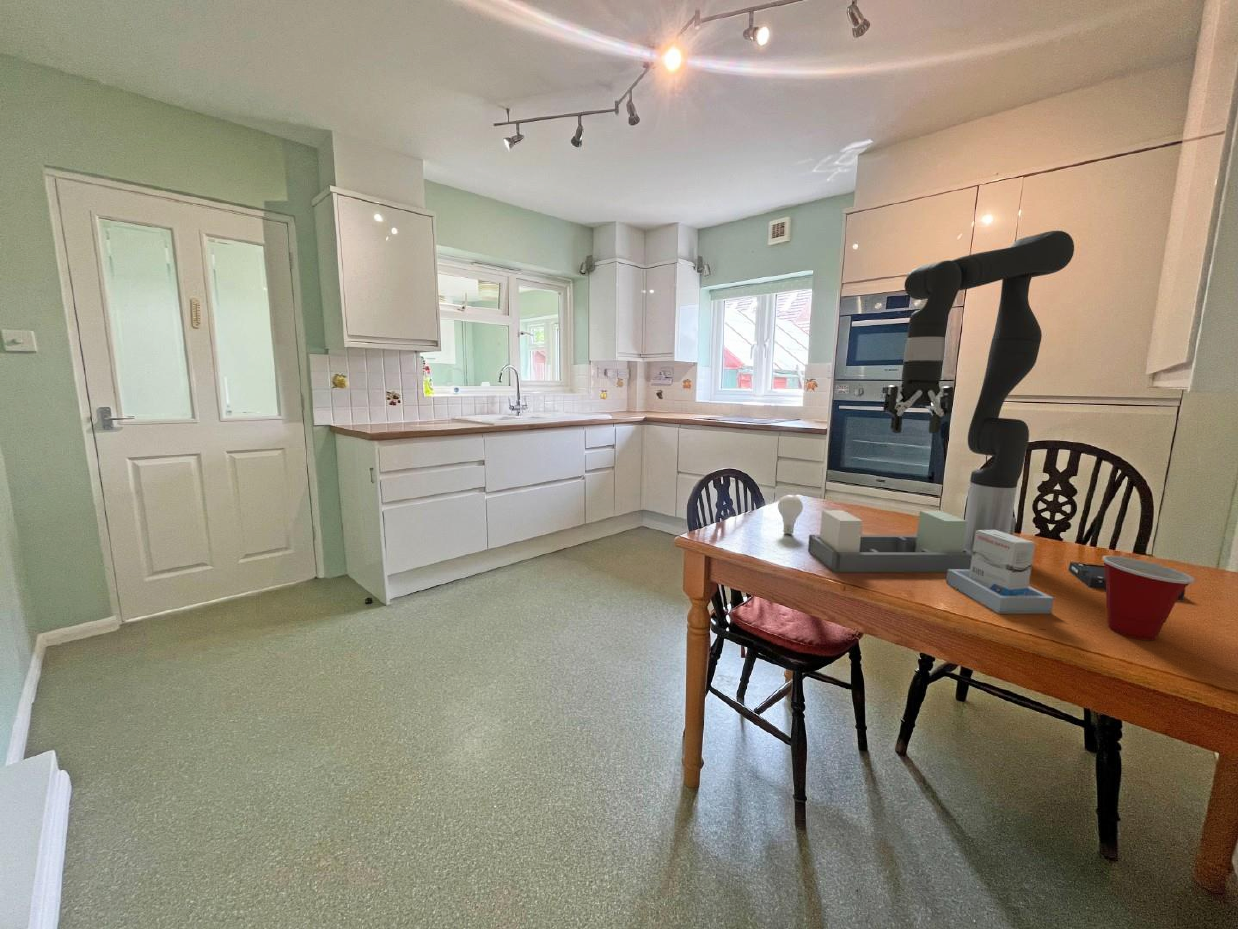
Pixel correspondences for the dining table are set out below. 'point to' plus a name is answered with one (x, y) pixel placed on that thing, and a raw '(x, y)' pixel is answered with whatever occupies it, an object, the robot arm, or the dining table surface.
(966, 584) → the tray
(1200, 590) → the dining table surface
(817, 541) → the holder
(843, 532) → the cream block
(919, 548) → the sage block
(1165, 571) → the plastic cup
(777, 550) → the dining table surface
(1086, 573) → the disk drive
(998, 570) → the ink box
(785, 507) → the lightbulb
